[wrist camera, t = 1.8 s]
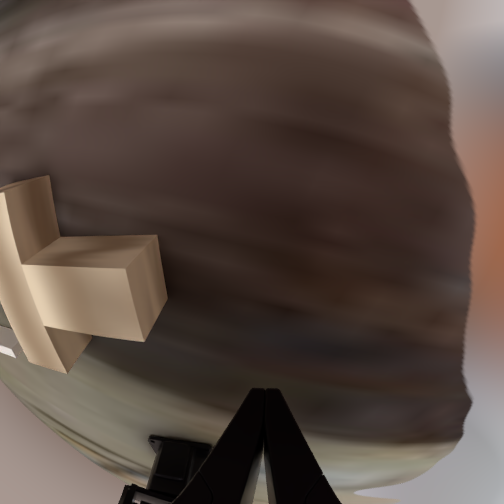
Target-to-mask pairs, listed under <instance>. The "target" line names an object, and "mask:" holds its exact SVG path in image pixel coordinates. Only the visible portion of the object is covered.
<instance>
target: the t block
mask: <svg viewBox="0 0 504 504" xmlns="http://www.w3.org/2000/svg"><path fill="white" fill-rule="evenodd" d="M167 299H168V297H167V291H166V286H165V280H164V275H163V269H162V263H161V257H160V250H159V243H158V237H157V235H118V236H75V237H61V236H60V232H59V227H58V222H57V217H56V212H55V207H54V202H53V196H52V190H51V183H50V176H49V175H47V176H42V177H37V178H32V179H28V180H23V181H19V182H15V183H11V184H9V185H6V186H3V187H1V188H0V301H1V304H2V306H3V309H4V311H5V313H6V316H7V318H8V320H9V322H10V324H11V327H12V329H13V331H14V333H15V335H16V337H17V339H18V341H19V343H20V345H21V347H22V349H23V351H24V353H25V355H26V356H27V358H28V360H29V362H31V363H34V364H37V365H40V366H43V367H46V368H50V369H53V370H56V371H60V372H63V373H67V374H68V372H69V371H70V369H71V368H72V366H73V365H74V363H75V362H76V360H77V359H78V357H79V356H80V355H81V353H82V352H83V350H84V349H85V347H86V346H87V345H88V343H89V342H90V340H91V339H92V336H91V335H97V336H103V337H110V338H117V339H125V340H132V341H141V342H145V340H146V338H147V336H148V334H149V332H150V330H151V329H152V327H153V325H154V323H155V321H156V319H157V317H158V316H159V314H160V312H161V310H162V308H163V306H164V305H165V303H166V301H167Z"/></svg>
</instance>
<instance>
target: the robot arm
mask: <svg viewBox="0 0 504 504" xmlns="http://www.w3.org/2000/svg"><path fill="white" fill-rule="evenodd" d="M148 441H149V443H150V445H151V446H152V448H153V450H154V451H155V453H156V457H155V460H154V464H153V467H152V470H151V474H150V477H149V480H148V484H147V487H146V489H145V488H142V487H139V486H138V485H136V484H133V483H132V485H131V486H129V485H125V487H124V490H123V493H122V496H121V498H120V501H119V503H118V504H137V503H135V502H134V501H135V500H137V501H140V504H252V503H253V499H254V494H255V489H256V485H257V480H258V475H259V470H260V465H261V460H262V454H263V445H264V462H265V472H266V482H267V492H268V501H269V504H342V503H341V502H340V501H339V499H338V498H337V496H336V495H335V493H334V491H333V490H332V488H331V486H330V485H329V483H328V481H327V479H326V477H325V476H324V475H323V472H322V470H321V469H320V467H319V465H318V463H317V461H316V459H315V457H314V455H313V453H312V452H311V450H310V448H309V446H308V444H307V442H306V440H305V438H304V436H303V434H302V432H301V430H300V429H299V427H298V425H297V423H296V421H295V419H294V417H293V415H292V413H291V411H290V409H289V407H288V405H287V403H286V401H285V399H284V397H283V395H282V393H281V391H280V390H279V389H277V388H267V389H266V391H265V389H264V388H252V389H251V390H250V392H249V393H248V395H247V396H246V398H245V400H244V401H243V403H242V404H241V406H240V408H239V409H238V411H237V412H236V414H235V416H234V417H233V419H232V420H231V422H230V423H229V425H228V427H227V428H226V430H225V431H224V433H223V434H222V436H221V437H220V439H219V440H218V442H217V443H216V445H215V446H214V448H213V449H212V447H211V446H210V445H207V444H198V443H191V442H184V441H177V440H171V439H165V438H159V437H154V436H149V438H148Z"/></svg>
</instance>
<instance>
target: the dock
mask: <svg viewBox="0 0 504 504" xmlns="http://www.w3.org/2000/svg"><path fill="white" fill-rule="evenodd" d="M22 350H23V349H22V347H21V345H20V343H19V341H18V339H17V337H16V335H15V333H14V331H13V329H10V328H7V327H4V326H0V352H2V353H4V354H7V355H10V356H12V357H15V358H17V356H18V355H19V354H20V353H21V352H22Z"/></svg>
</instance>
